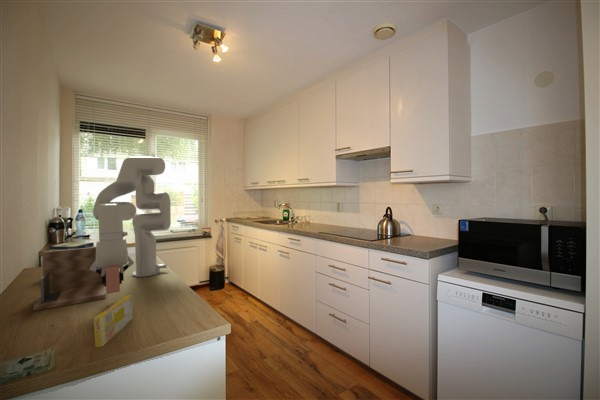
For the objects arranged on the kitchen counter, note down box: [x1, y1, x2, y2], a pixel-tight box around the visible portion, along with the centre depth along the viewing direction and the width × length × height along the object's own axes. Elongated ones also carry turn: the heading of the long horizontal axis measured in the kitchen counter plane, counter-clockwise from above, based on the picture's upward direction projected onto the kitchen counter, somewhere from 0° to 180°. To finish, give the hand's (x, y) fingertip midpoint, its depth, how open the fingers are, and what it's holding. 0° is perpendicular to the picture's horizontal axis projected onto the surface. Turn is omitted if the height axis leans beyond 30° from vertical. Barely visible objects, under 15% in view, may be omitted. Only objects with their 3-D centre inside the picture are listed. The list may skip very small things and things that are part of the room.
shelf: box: [32, 246, 107, 311], centre depth 111 cm, size 21×18×18 cm
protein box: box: [48, 242, 95, 251], centre depth 145 cm, size 10×16×16 cm
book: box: [106, 266, 121, 295], centre depth 105 cm, size 4×10×9 cm, turn 33°
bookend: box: [39, 272, 62, 303], centre depth 107 cm, size 4×11×9 cm, turn 33°
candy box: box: [93, 294, 134, 348], centre depth 83 cm, size 16×2×8 cm, turn 5°
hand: (113, 283), depth 105 cm, fingers closed on book, 4 cm apart
